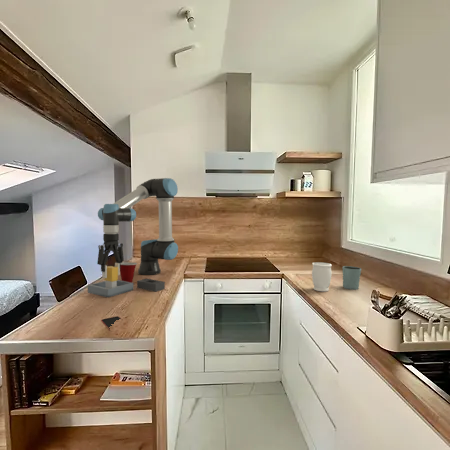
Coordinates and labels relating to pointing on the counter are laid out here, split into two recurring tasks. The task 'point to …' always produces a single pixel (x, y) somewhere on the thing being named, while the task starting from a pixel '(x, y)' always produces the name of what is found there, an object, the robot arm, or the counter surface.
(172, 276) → the counter surface
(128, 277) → the plastic cup
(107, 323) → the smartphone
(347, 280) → the teal tapered cup
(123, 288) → the parts tray
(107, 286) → the block
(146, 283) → the block
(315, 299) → the counter surface
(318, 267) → the jar
